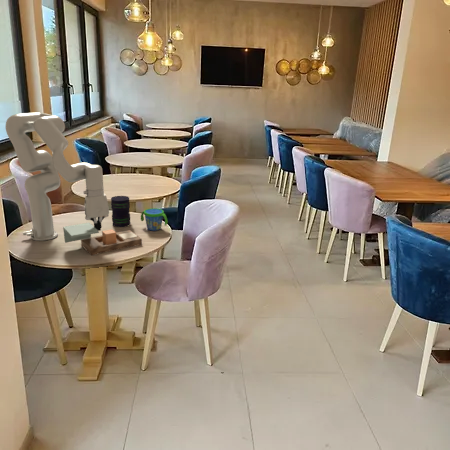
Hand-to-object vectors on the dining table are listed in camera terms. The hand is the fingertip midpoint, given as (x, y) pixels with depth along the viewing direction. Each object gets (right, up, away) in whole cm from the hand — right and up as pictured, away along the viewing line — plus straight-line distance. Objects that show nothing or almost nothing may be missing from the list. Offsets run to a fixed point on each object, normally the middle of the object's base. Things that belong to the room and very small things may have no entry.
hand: (98, 229), depth 193 cm
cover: (-7, -7, -3) cm, 10 cm away
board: (+5, -7, +6) cm, 11 cm away
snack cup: (+22, 0, +29) cm, 36 cm away
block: (+4, -7, +6) cm, 9 cm away
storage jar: (+2, +3, +35) cm, 35 cm away
